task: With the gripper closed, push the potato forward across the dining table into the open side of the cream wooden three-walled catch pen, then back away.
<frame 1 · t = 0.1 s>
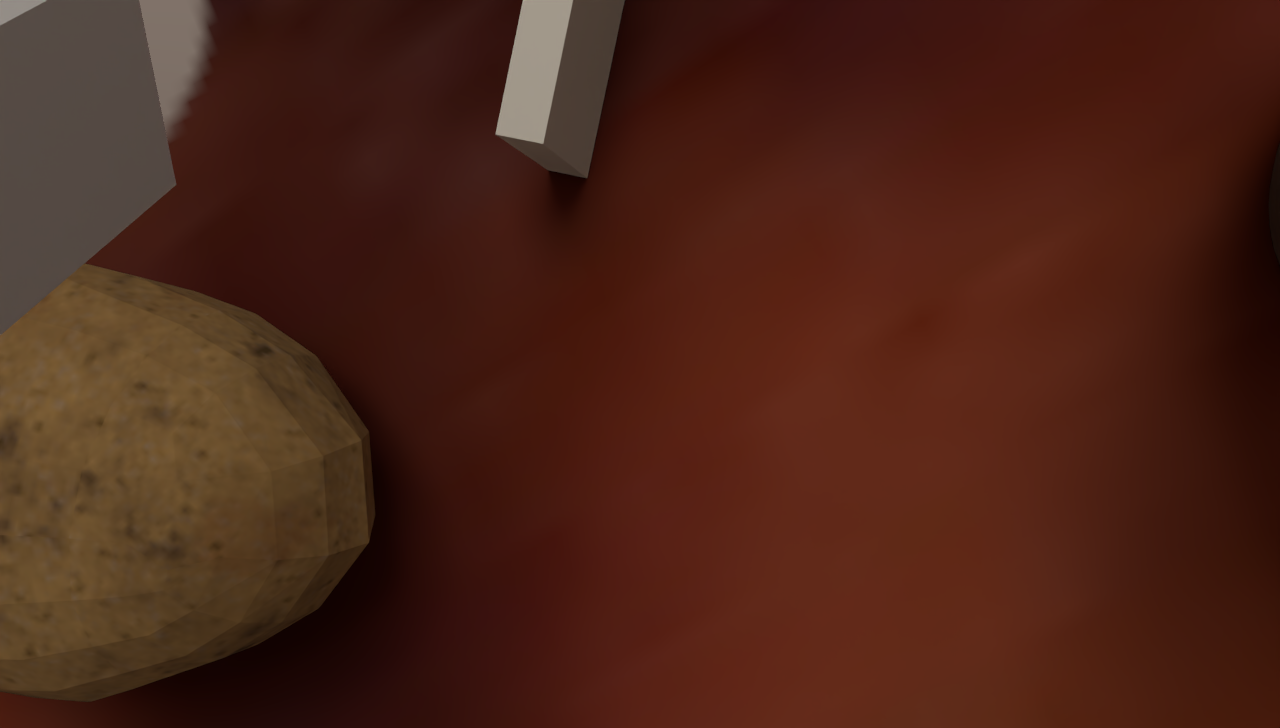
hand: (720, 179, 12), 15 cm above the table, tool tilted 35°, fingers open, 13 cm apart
potato: (184, 452, 29), on the table
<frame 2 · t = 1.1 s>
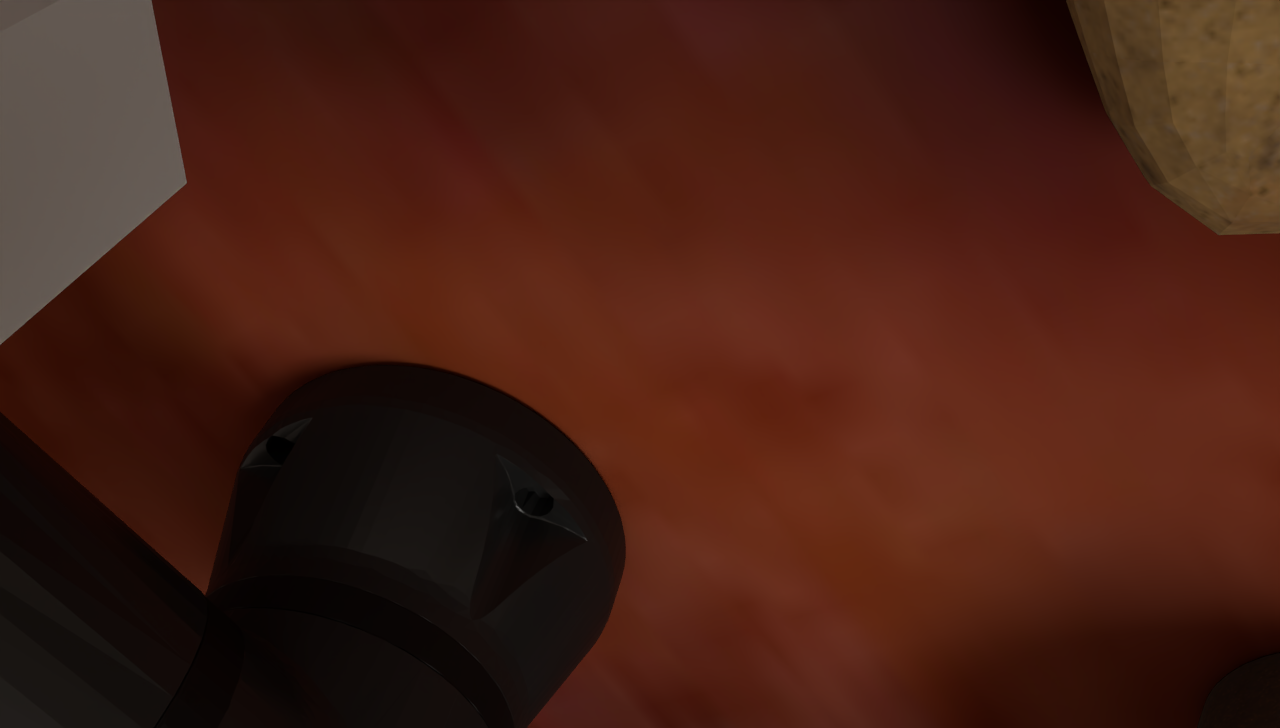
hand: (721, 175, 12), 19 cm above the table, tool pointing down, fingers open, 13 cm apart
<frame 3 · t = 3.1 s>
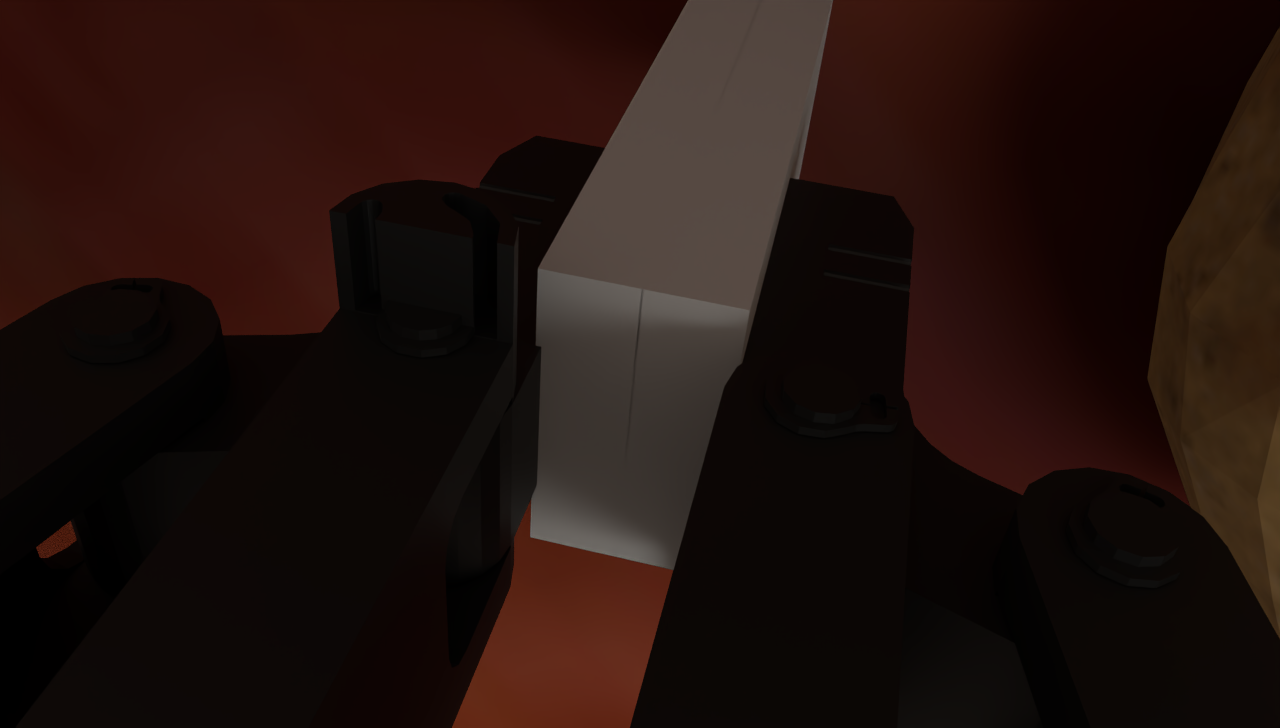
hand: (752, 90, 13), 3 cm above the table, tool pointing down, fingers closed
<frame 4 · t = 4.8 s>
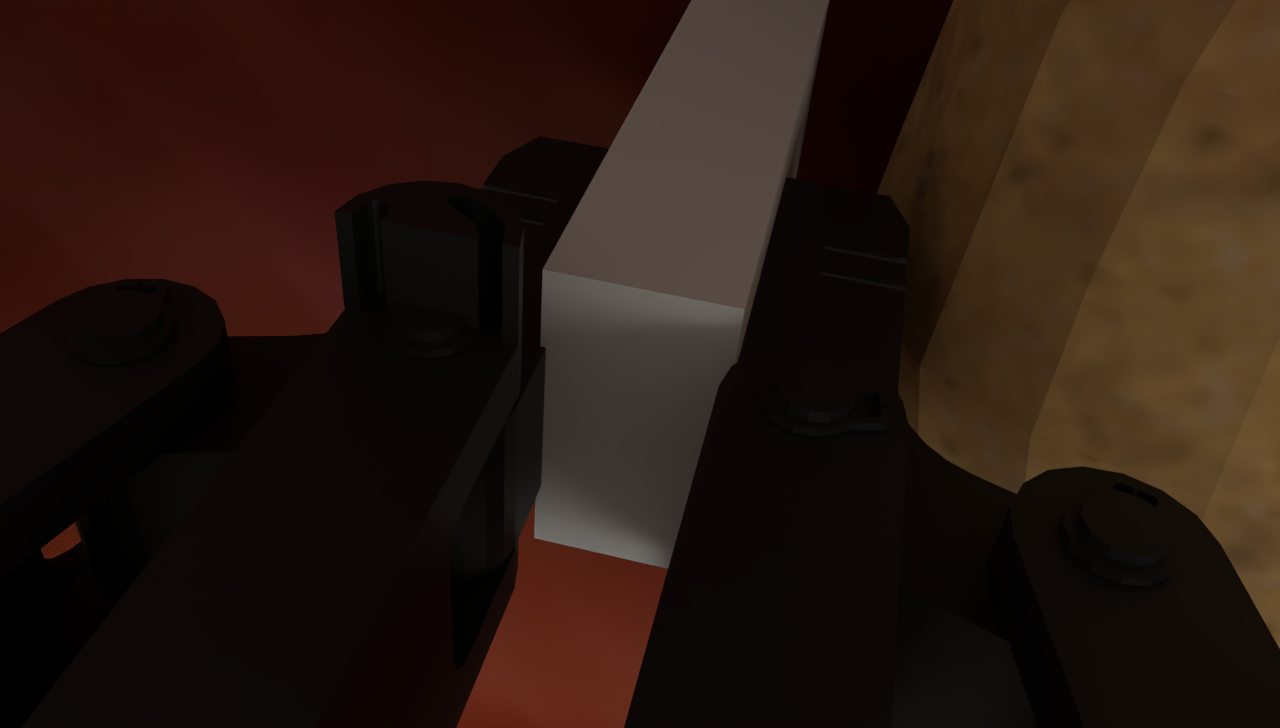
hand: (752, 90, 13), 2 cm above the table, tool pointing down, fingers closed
potato: (1264, 123, 14), on the table, touching gripper
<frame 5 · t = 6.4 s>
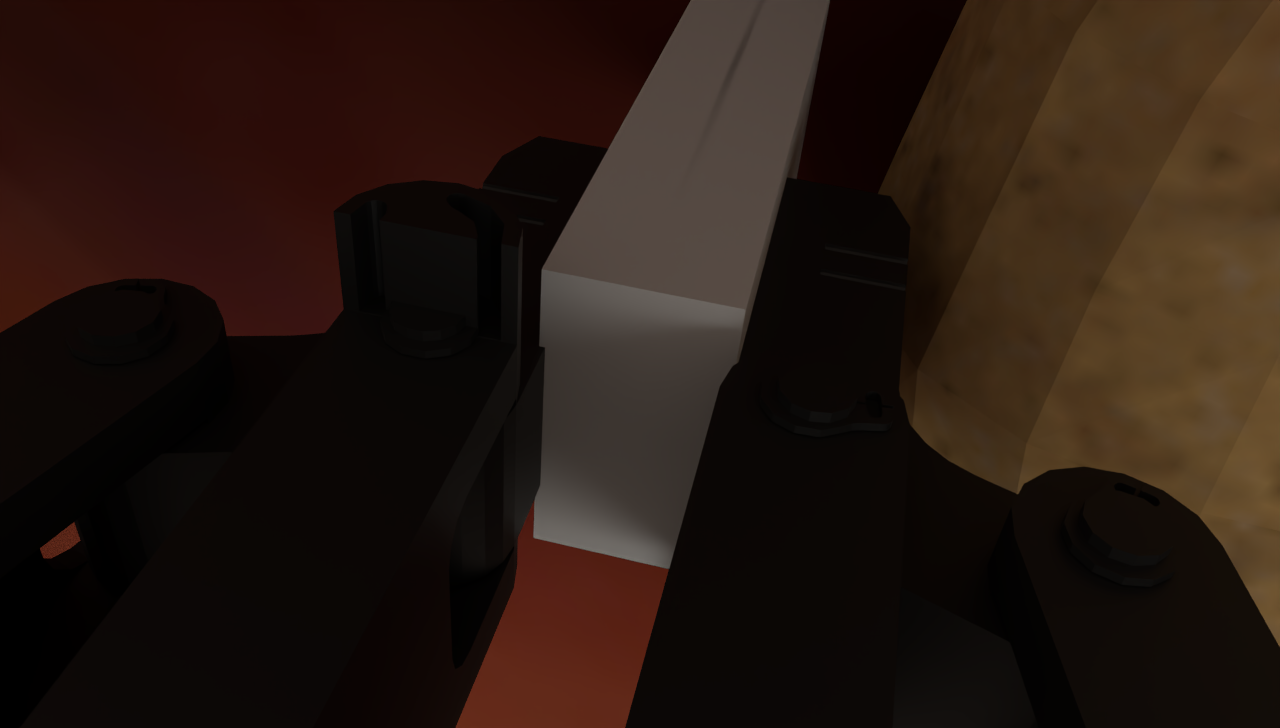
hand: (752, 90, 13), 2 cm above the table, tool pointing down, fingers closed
potato: (1253, 140, 15), on the table, touching gripper
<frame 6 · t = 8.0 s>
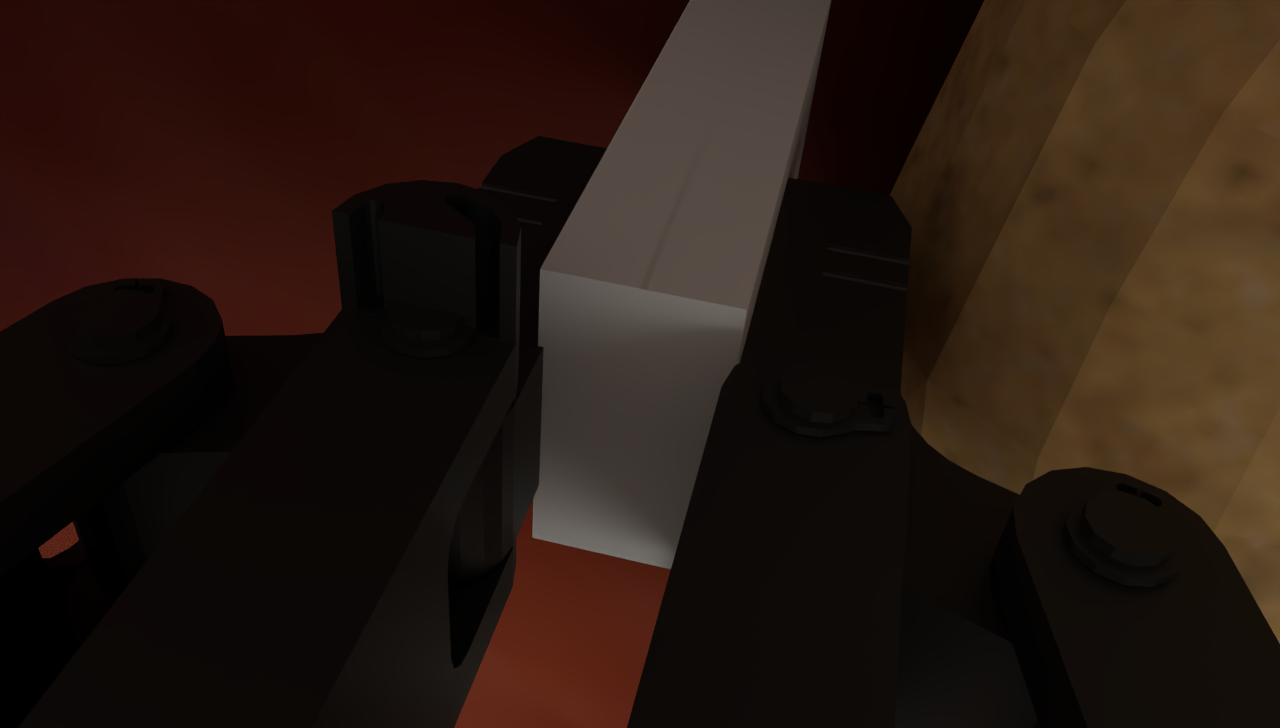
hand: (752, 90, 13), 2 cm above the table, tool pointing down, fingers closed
potato: (1262, 150, 15), on the table, touching gripper
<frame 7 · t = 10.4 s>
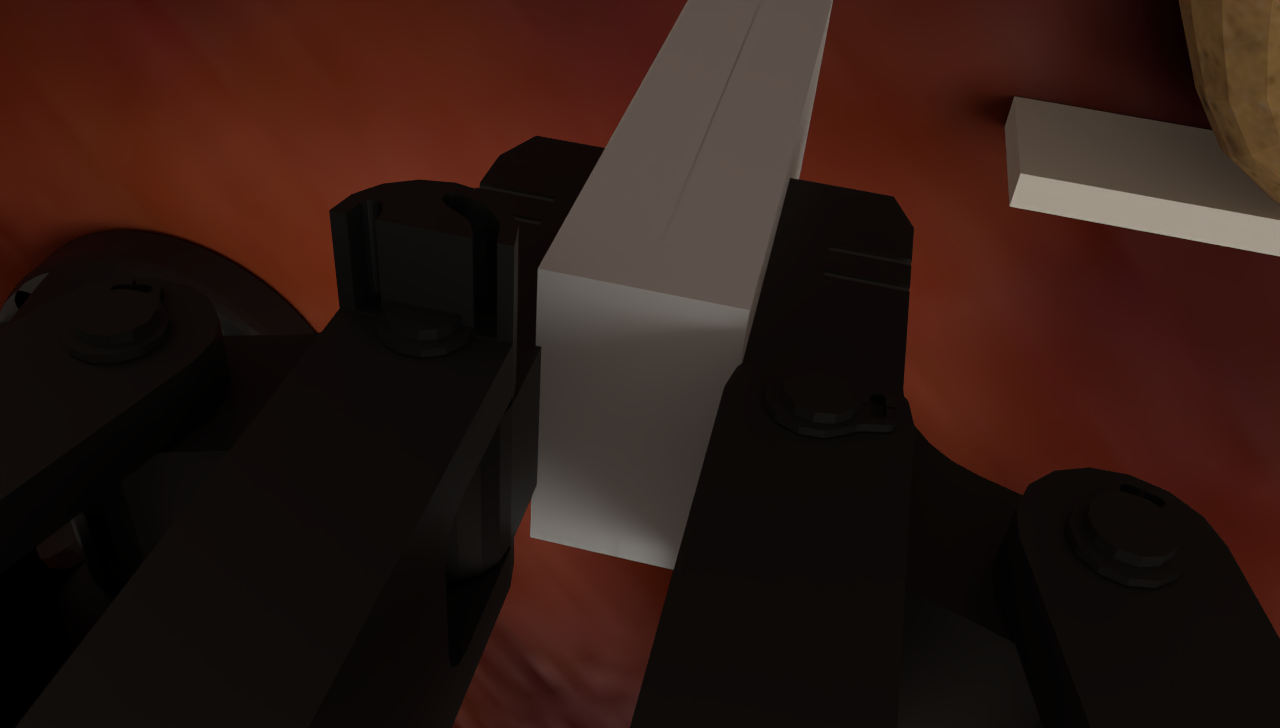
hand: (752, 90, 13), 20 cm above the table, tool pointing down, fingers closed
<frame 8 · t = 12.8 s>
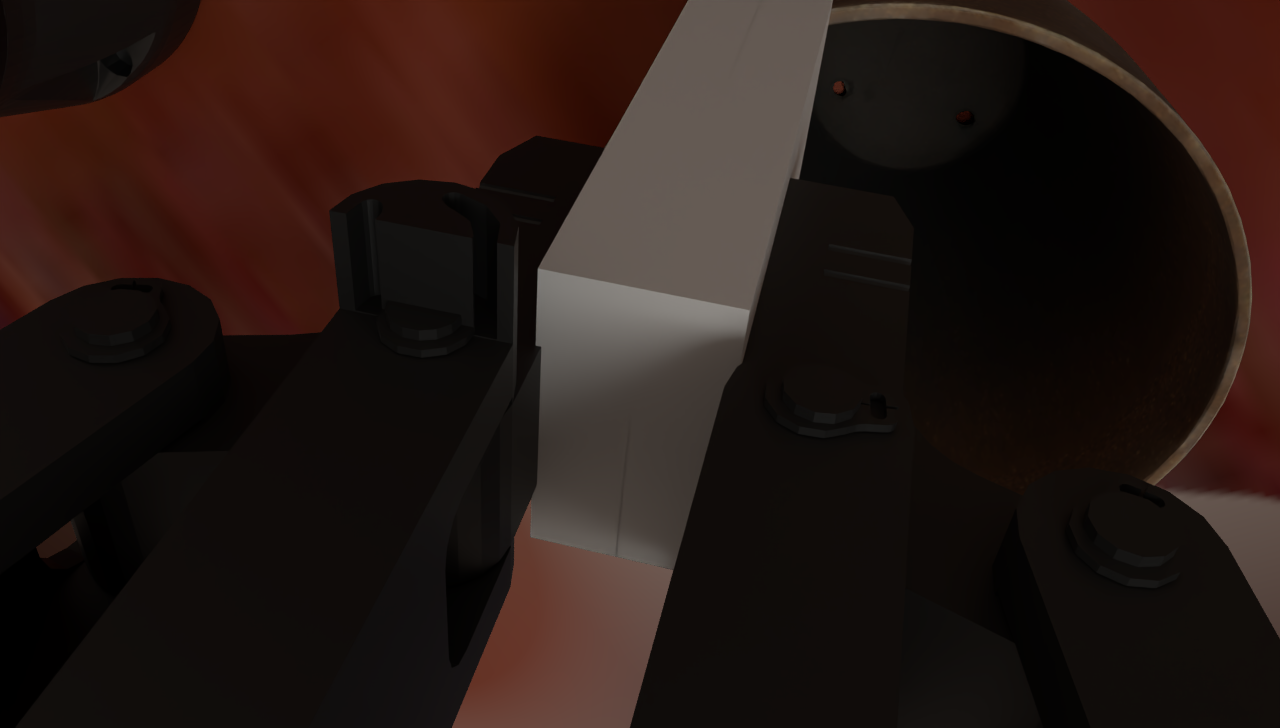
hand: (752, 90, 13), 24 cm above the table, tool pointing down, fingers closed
plant pot: (907, 61, 38), on the table
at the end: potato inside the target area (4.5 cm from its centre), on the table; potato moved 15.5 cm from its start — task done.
